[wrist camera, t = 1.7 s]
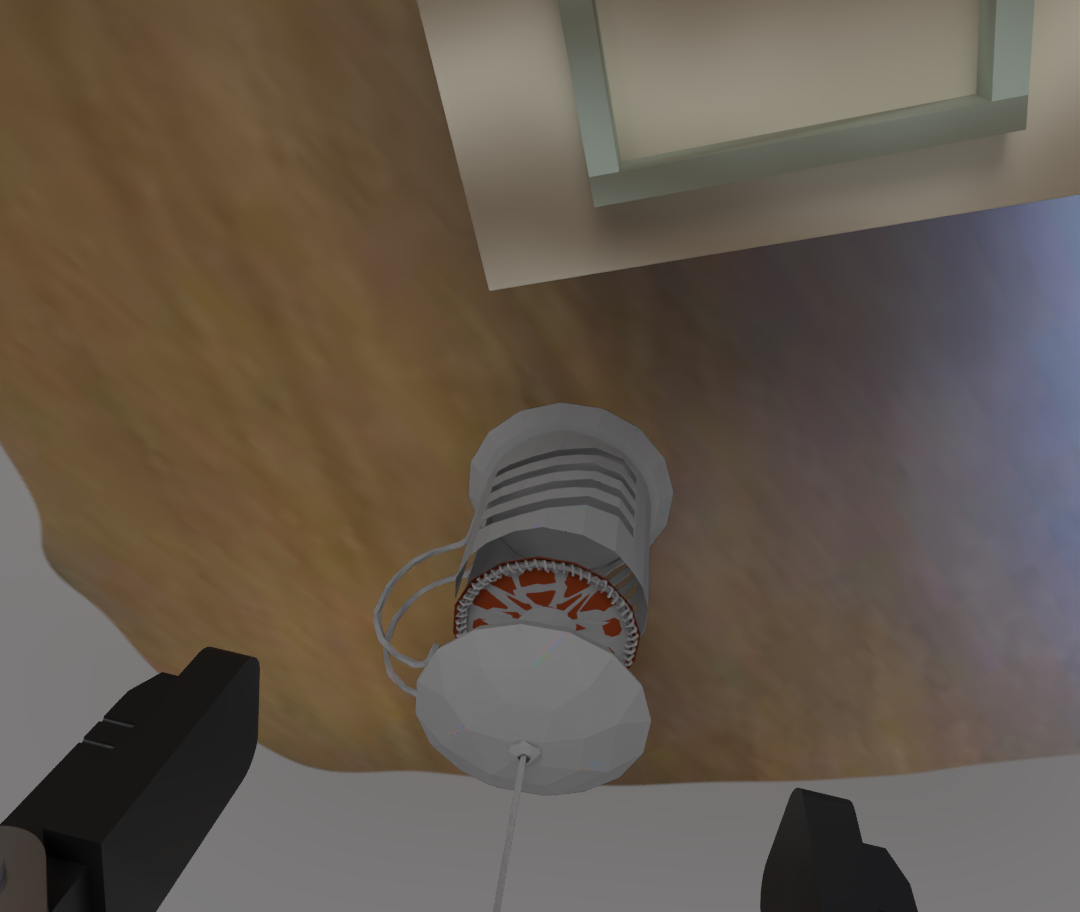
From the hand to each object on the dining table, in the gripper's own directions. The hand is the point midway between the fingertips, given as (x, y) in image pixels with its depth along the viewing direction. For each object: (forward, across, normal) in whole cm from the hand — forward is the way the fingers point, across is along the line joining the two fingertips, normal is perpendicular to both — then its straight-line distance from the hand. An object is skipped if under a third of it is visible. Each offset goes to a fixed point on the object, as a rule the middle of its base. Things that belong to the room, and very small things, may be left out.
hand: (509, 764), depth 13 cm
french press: (+27, +2, +9) cm, 29 cm away
